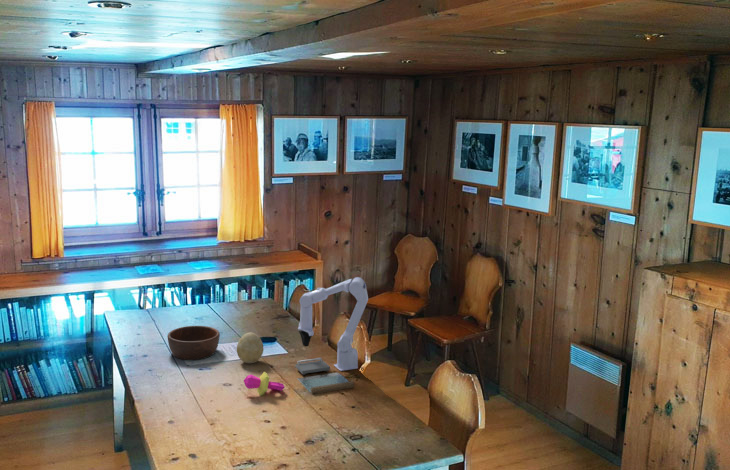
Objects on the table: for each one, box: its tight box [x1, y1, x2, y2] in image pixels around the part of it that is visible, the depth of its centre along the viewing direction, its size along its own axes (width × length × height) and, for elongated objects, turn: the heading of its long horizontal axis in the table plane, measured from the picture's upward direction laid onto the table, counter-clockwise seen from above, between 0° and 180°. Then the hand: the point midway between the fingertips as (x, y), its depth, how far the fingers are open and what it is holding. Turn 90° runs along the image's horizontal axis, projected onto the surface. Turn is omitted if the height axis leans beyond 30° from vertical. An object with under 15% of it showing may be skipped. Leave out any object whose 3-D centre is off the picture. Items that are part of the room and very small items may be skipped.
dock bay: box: [296, 372, 355, 395], centre depth 306 cm, size 20×18×3 cm
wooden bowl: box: [166, 325, 221, 361], centre depth 336 cm, size 25×25×10 cm
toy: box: [243, 371, 285, 397], centre depth 292 cm, size 10×18×10 cm, turn 110°
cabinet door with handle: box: [294, 357, 331, 376], centre depth 319 cm, size 14×9×4 cm, turn 116°
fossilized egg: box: [236, 331, 264, 364], centre depth 326 cm, size 13×13×15 cm
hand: (305, 345), depth 326 cm, fingers closed
